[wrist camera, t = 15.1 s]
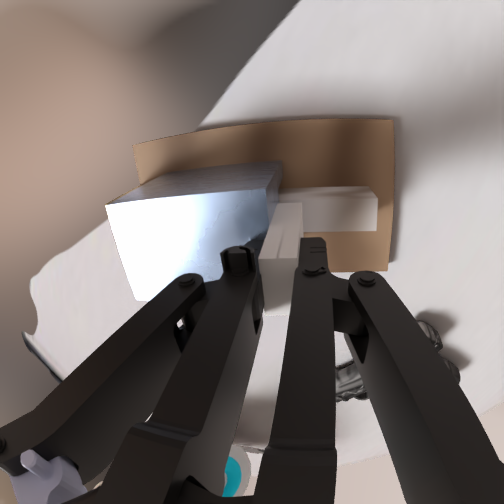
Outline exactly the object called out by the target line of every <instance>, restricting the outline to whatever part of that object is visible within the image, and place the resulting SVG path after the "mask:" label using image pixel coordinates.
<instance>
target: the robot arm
mask: <svg viewBox="0 0 504 504" xmlns="http://www.w3.org/2000/svg"><path fill="white" fill-rule="evenodd" d="M220 257H221V262H222V267H223V274H222V276H221V278H220V279H218V280H214V281H208V282H204V279H203V277H202V276H201V275H200V274H197V273H188V274H187V273H186V274H183V275H181V276H178V277H177V278H175V279H174V280H173V281H172V282H170V283H169V284H168V285H167V286H166V287H165V288H164V289H162V290H161V291H160V292H159V293H158V294H157V295H156V296H155V297H153V298H152V299H151V300H150V301H149V302H148V303H147V304H146V305H144V306H143V307H142V308H141V309H140V310H139V311H138V312H137V313H136V314H134V315H133V316H132V317H131V318H130V319H129V320H128V321H127V322H126V323H124V324H123V325H122V326H121V327H120V328H119V329H118V330H117V331H116V332H115V333H114V334H112V335H111V336H110V337H109V338H108V339H107V340H106V341H105V342H104V343H103V344H102V345H101V346H99V347H98V348H97V349H96V350H95V351H94V352H93V353H92V354H91V355H90V356H89V357H88V358H87V359H86V360H84V361H83V362H82V363H81V364H80V365H79V366H78V367H77V368H76V369H75V370H74V371H73V372H72V373H71V374H70V375H69V376H68V377H67V378H66V379H65V380H64V381H62V382H61V383H60V384H59V385H58V386H57V387H56V388H55V389H54V390H53V391H52V392H51V393H50V394H49V395H48V396H47V397H46V398H45V399H44V400H43V401H42V402H41V403H40V404H39V405H38V406H37V407H36V408H35V409H34V410H33V411H31V412H29V413H27V414H25V415H23V416H22V417H20V418H18V419H16V420H14V421H13V422H11V423H9V424H7V425H5V426H3V427H1V428H0V469H1V470H3V471H4V472H5V473H7V474H8V475H9V477H10V479H11V483H12V486H13V489H14V492H15V496H16V499H17V502H18V504H334V497H335V486H336V471H337V450H336V448H335V422H336V370H335V339H334V331H338V332H342V333H344V338H345V340H346V343H347V345H348V347H349V350H350V352H351V354H352V357H353V359H354V362H355V364H356V366H357V369H358V371H359V374H360V376H361V379H362V381H363V384H364V386H365V389H366V391H367V394H368V396H369V399H370V401H371V404H372V406H373V409H374V412H375V414H376V417H377V420H378V422H379V425H380V428H381V430H382V433H383V436H384V439H385V441H386V444H387V447H388V450H389V453H390V455H391V458H392V461H393V464H394V467H395V470H396V473H397V476H398V479H399V482H400V485H401V488H402V491H403V495H404V498H405V501H406V503H407V504H504V464H503V463H502V462H501V461H500V460H499V458H498V456H497V454H496V452H495V450H494V448H493V446H492V444H491V442H490V440H489V438H488V436H487V434H486V432H485V430H484V428H483V426H482V424H481V422H480V421H479V419H478V417H477V415H476V413H475V411H474V410H473V408H472V406H471V404H470V403H469V401H468V399H467V398H466V396H465V394H464V392H463V391H462V389H461V387H460V386H459V384H458V383H457V381H456V379H455V378H454V376H453V375H452V373H451V371H450V370H449V368H448V367H447V365H446V364H445V362H444V361H443V359H442V357H441V356H440V354H439V353H438V351H437V350H436V348H435V347H434V346H433V344H432V343H431V341H430V340H429V338H428V337H427V335H426V334H425V332H424V331H423V330H422V328H421V327H420V325H419V324H418V323H417V321H416V320H415V318H414V317H413V316H412V314H411V313H410V312H409V310H408V309H407V308H406V306H405V305H404V304H403V302H402V301H401V300H400V298H399V297H398V296H397V294H396V293H395V292H394V290H393V289H392V288H391V287H390V285H389V284H388V283H387V282H386V280H385V279H384V278H383V277H382V276H381V275H380V274H378V273H376V272H373V271H367V270H365V271H358V272H355V273H353V274H352V275H351V276H350V278H349V280H347V279H342V278H338V277H336V276H334V275H333V274H331V273H330V270H329V268H328V258H327V248H326V241H325V240H324V239H323V238H322V237H304V233H303V214H302V202H299V203H277V206H276V209H275V212H274V214H273V217H272V220H271V223H270V226H269V229H268V232H267V235H266V238H265V240H250V241H248V242H247V243H246V244H245V245H238V246H232V247H229V248H226V249H224V250H223V251H222V252H221V253H220ZM263 309H264V311H265V316H289V322H288V330H287V337H286V344H285V351H284V358H283V364H282V371H281V377H280V384H279V390H278V396H277V402H276V408H275V414H274V419H273V425H272V430H271V436H270V441H269V444H268V446H267V447H266V448H265V450H264V453H263V456H262V460H261V464H260V469H259V474H258V478H257V483H256V487H255V492H254V495H252V496H236V497H222V495H223V491H224V486H225V468H226V464H227V460H228V457H229V453H230V450H231V446H232V442H233V439H234V435H235V431H236V428H237V424H238V420H239V417H240V413H241V409H242V405H243V402H244V398H245V394H246V390H247V386H248V382H249V378H250V375H251V371H252V367H253V363H254V359H255V355H256V351H257V347H258V342H259V338H260V334H261V330H262V326H263V318H262V313H263ZM180 319H182V322H183V325H182V326H181V327H179V328H178V326H177V322H178V321H179V320H180ZM152 412H153V413H152ZM151 414H152V415H151ZM150 415H151V417H150V419H149V420H148V421H147V422H145V421H146V420H147V419H148V417H149V416H150ZM113 459H114V460H113ZM112 461H113V462H112ZM111 462H112V464H111V466H110V468H109V470H108V472H107V474H106V476H105V478H104V480H103V482H102V484H101V486H99V487H97V488H95V489H93V490H91V491H89V492H87V489H86V488H85V487H84V486H83V485H84V484H86V483H87V482H89V481H91V480H92V479H94V478H95V477H96V476H97V475H98V474H100V473H101V472H102V471H103V470H104V469H105V468H106V467H107V466H108V465H109V464H110V463H111Z"/></svg>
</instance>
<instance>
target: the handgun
mask: <svg viewBox="0 0 504 504" xmlns="http://www.w3.org/2000/svg"><path fill="white" fill-rule="evenodd" d="M417 323H418V324H419V325H420V327H421V328H422V330H423V331H424V332H425V334H426V335H427V337H428V338H429V340H430V341H431V343H432V344H433V346H434V347H435V348H436V350H437V351H438V352H439V351H440V350H441V349H442V348H443V344H442V342H441V339H440V337H439V334H438V332H437V331H436V330H435V329H434V328H433V327H431V326H430V325H428V324H426V323H425V322H422V321H420V322H419V321H418V322H417ZM442 359H443V361H444V362H445V364H446V365H447V367H448V368H449V370H450V371H451V373H452V375H453V376H454V378H455V379H456V381H457V383H458V384H459V382H460V373H459V370H458V368H457V367H456V366H455V365H453V364H452V363H451V362H449V361H448V360H446V359H444V358H442ZM335 370H336V402H340V401H342V400H343V401H348V400H349V399H351V398H353V397H354V398H356V399H358V400H367V399H369V396H368V394H367V391H366V389H365V386H364V384H363V381H362V379H361V376H360V374H359V371H358V369H357V366H356V364H355V362H354V363H353V364H351V365H349V366H347V367H345V368H343V369H335ZM364 392H365V393H364Z"/></svg>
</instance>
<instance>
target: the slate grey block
mask: <svg viewBox="0 0 504 504" xmlns="http://www.w3.org/2000/svg"><path fill="white" fill-rule="evenodd" d="M282 178H283V168H282V160H278V161H264V162H251V163H240V164H230V165H221V166H212V167H203V168H196V169H188V170H181V171H174V172H168V173H165V174H163V175H161V176H159V177H157V178H155V179H153V180H151V181H150V182H148V183H146V184H144V185H142V186H140V187H138V188H136V189H134V190H133V191H131V192H129V193H127V194H125V195H124V196H122V197H120V198H118V199H116V200H115V201H113V202H111V203H109V204H108V205H106V208H107V212H108V216H109V219H110V223H111V226H112V230H113V233H114V236H115V240H116V243H117V246H118V249H119V252H120V255H121V258H122V261H123V264H124V267H125V270H126V273H127V276H128V279H129V281H130V284H131V287H132V289H133V292H134V295H135V297H136V300H144V301H150V300H151V299H152V298H153V297H155V296H156V295H157V294H158V293H159V292H160V291H161V290H162V289H164V288H165V287H166V286H167V285H168V284H169V283H170V282H172V281H173V280H174V279H175V278H177V277H178V276H181V275H183V274H186V273H187V274H188V273H197V274H200V275H201V276H202V277H203V279H204V282H208V281H214V280H218V279H220V278H221V276H222V274H223V267H222V262H221V257H220V253H221V252H222V251H223V250H224V249H226V248H229V247H232V246H238V245H245V244H246V243H247V242H248V241H250V240H265V238H266V235H267V232H268V229H269V226H270V223H271V220H272V217H273V214H274V212H275V209H276V206H277V203H279V193H278V189H279V186H280V183H281V181H282Z"/></svg>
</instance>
